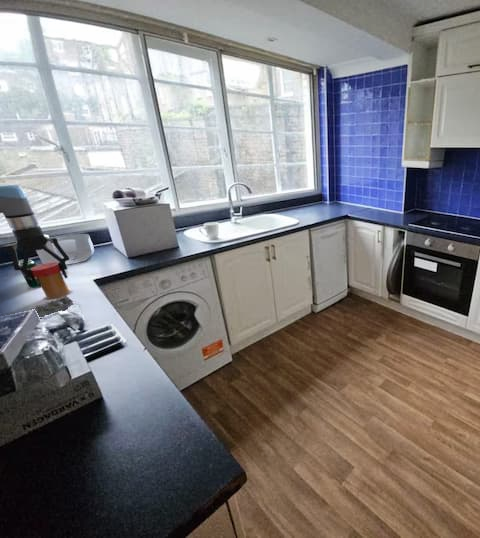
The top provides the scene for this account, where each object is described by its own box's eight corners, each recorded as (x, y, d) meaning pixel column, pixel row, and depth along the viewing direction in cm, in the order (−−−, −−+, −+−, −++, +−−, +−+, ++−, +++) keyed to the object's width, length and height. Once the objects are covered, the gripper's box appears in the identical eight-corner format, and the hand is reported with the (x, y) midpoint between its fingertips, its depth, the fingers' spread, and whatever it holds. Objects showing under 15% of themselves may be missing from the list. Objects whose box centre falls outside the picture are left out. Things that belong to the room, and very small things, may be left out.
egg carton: (38, 321, 105) (33, 311, 104) (33, 315, 109) (28, 305, 108) (76, 308, 113) (72, 298, 112) (70, 302, 117) (66, 293, 115)
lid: (32, 279, 114) (29, 272, 113) (33, 273, 120) (30, 266, 119) (61, 272, 120) (58, 266, 118) (61, 267, 125) (58, 260, 124)
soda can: (45, 282, 136) (33, 258, 131) (45, 285, 133) (33, 261, 128) (29, 286, 133) (17, 261, 128) (29, 289, 129) (16, 264, 125)
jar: (45, 300, 119) (31, 272, 114) (48, 294, 124) (35, 267, 120) (68, 295, 123) (55, 268, 118) (70, 289, 128) (58, 263, 123)
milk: (49, 277, 141) (27, 233, 132) (48, 274, 145) (26, 231, 136) (66, 273, 145) (46, 230, 137) (64, 270, 149) (45, 228, 140)
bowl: (100, 250, 177) (93, 232, 172) (94, 260, 162) (86, 239, 157) (56, 257, 168) (47, 237, 163) (45, 268, 152) (34, 246, 148)
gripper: (62, 220, 121) (84, 270, 130) (-15, 231, 108) (15, 286, 117) (63, 223, 116) (85, 275, 125) (-19, 234, 103) (13, 292, 112)
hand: (51, 280), depth 121 cm, fingers closed on lid, 8 cm apart
